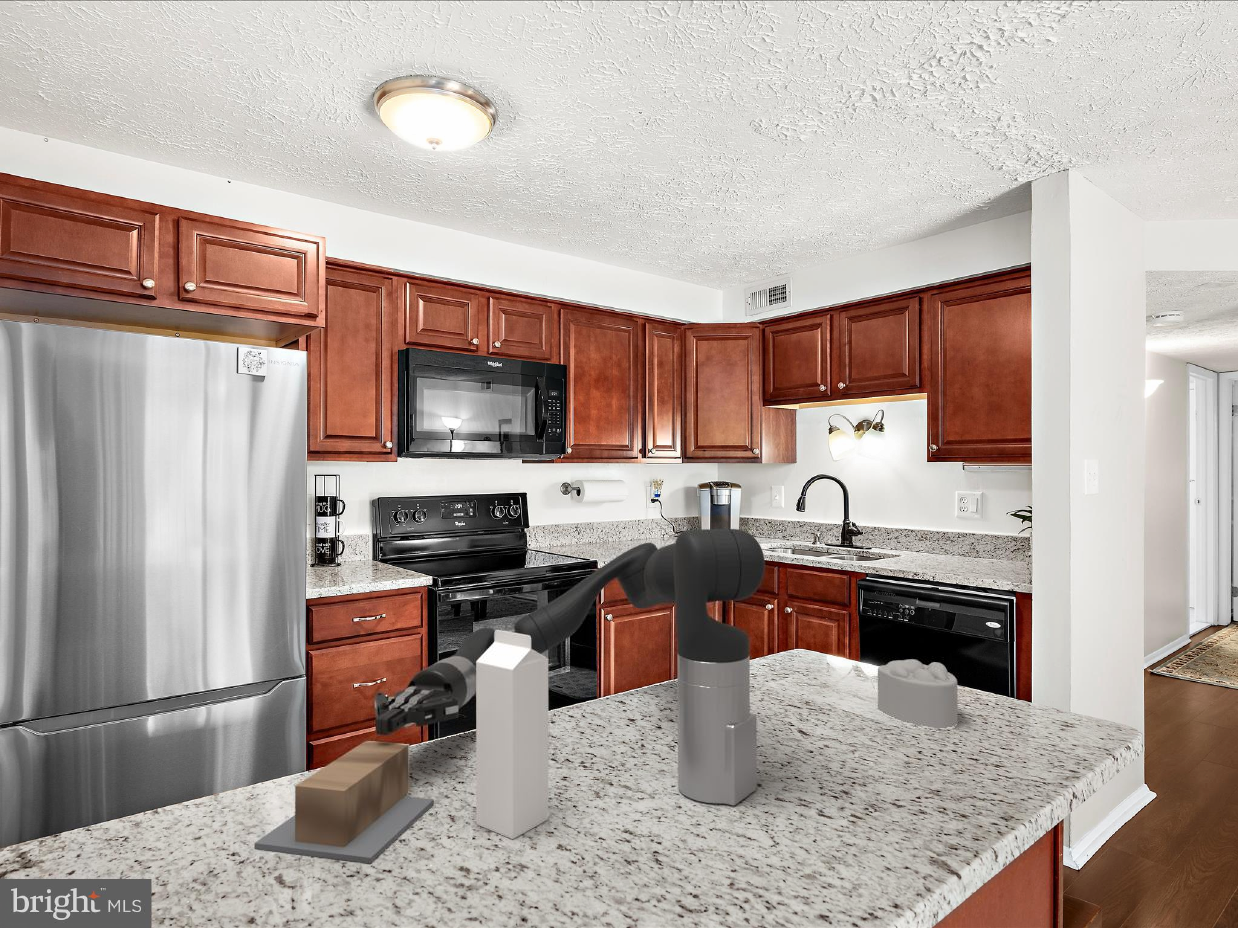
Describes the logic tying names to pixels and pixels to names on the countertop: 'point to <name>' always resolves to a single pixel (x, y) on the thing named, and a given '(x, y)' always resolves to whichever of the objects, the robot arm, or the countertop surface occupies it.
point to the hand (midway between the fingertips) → (381, 727)
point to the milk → (511, 736)
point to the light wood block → (351, 793)
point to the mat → (363, 845)
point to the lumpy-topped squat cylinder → (918, 693)
